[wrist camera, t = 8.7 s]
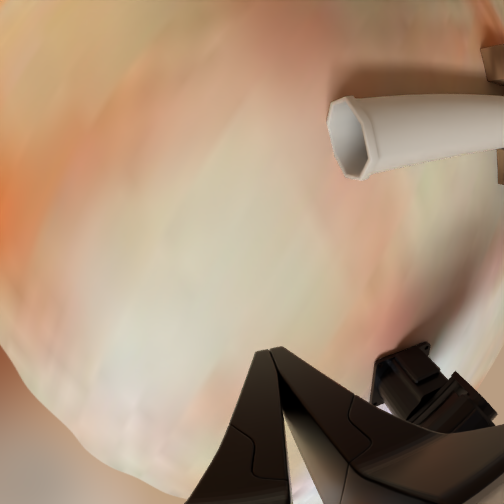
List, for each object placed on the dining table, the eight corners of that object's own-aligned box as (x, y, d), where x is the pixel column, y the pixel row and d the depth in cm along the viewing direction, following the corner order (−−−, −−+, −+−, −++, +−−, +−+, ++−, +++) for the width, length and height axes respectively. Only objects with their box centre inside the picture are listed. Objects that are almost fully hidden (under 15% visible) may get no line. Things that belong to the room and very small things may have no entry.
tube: (537, 89, 16) (344, 80, 14) (557, 138, 16) (380, 169, 14) (507, 105, 21) (319, 119, 19) (525, 150, 21) (344, 190, 19)
